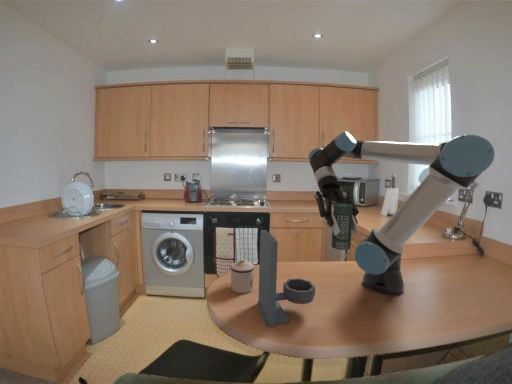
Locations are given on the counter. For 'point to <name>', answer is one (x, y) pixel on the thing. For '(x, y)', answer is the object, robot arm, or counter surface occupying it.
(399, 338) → the counter surface
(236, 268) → the teacup with lid
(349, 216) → the can
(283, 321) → the cup bracket
